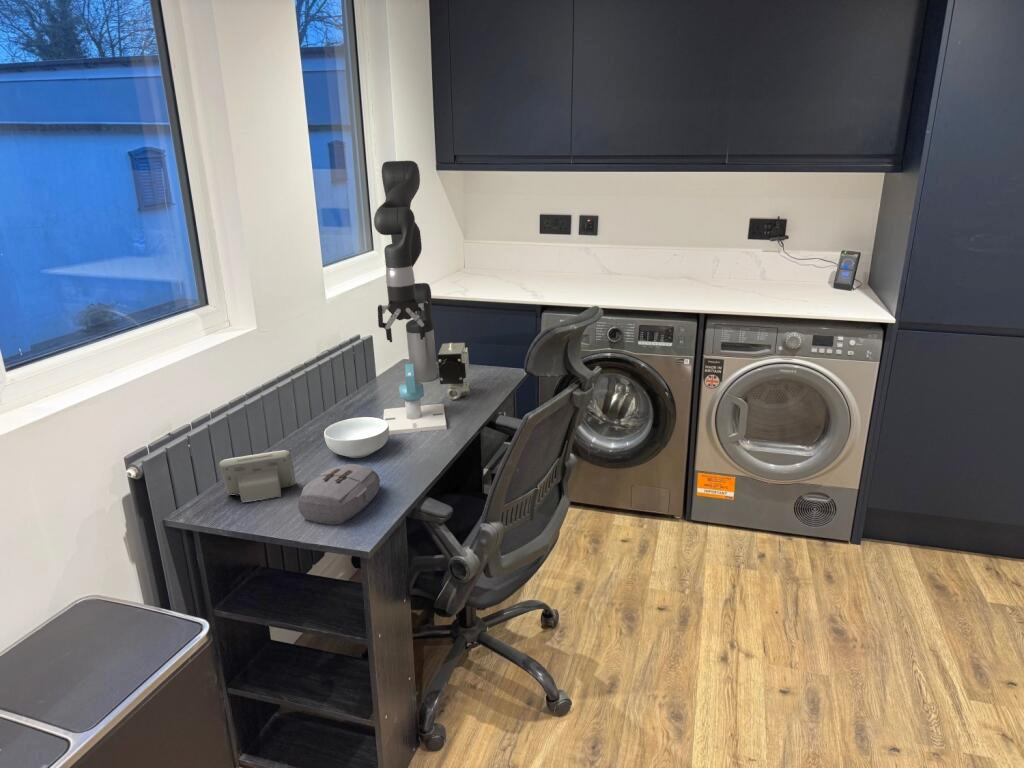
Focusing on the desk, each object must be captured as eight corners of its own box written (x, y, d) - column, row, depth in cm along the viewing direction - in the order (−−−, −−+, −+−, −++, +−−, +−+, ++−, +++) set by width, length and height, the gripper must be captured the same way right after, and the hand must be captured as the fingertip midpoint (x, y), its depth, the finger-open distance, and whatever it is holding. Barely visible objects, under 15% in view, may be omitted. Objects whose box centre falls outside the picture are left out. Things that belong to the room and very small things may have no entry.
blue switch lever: (400, 390, 214) (397, 363, 211) (423, 388, 214) (421, 361, 212) (399, 404, 202) (397, 376, 200) (424, 401, 203) (422, 374, 200)
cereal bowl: (401, 441, 197) (398, 417, 194) (374, 467, 181) (371, 442, 179) (345, 437, 201) (342, 414, 199) (315, 462, 186) (311, 437, 184)
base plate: (384, 412, 218) (381, 389, 216) (443, 407, 220) (441, 384, 218) (382, 435, 201) (380, 410, 199) (446, 429, 204) (444, 404, 201)
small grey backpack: (350, 530, 153) (393, 487, 171) (345, 495, 150) (390, 456, 168) (290, 521, 158) (338, 481, 175) (284, 487, 155) (334, 450, 173)
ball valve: (468, 405, 221) (464, 350, 215) (440, 406, 221) (436, 351, 215) (472, 386, 238) (468, 335, 232) (447, 387, 238) (443, 336, 232)
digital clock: (299, 482, 175) (293, 443, 172) (292, 500, 167) (285, 458, 163) (232, 488, 174) (224, 448, 171) (221, 506, 166) (213, 464, 162)
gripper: (426, 278, 198) (431, 335, 203) (374, 282, 196) (380, 339, 202) (427, 283, 191) (432, 341, 196) (373, 287, 189) (380, 346, 194)
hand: (406, 340), depth 199 cm, fingers open, 8 cm apart
